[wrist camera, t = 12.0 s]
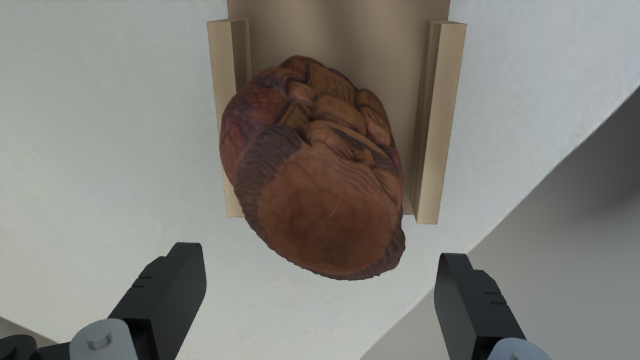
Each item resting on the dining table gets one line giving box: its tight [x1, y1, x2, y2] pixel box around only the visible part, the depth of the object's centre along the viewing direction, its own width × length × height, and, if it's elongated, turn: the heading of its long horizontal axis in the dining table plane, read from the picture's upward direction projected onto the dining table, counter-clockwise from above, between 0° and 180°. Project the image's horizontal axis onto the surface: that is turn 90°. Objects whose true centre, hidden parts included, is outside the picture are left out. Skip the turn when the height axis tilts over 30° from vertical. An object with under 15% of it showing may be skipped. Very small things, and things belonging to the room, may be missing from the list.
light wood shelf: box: [207, 0, 467, 225], centre depth 30 cm, size 16×18×6 cm
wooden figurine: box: [219, 55, 406, 281], centre depth 23 cm, size 12×6×18 cm, turn 58°
